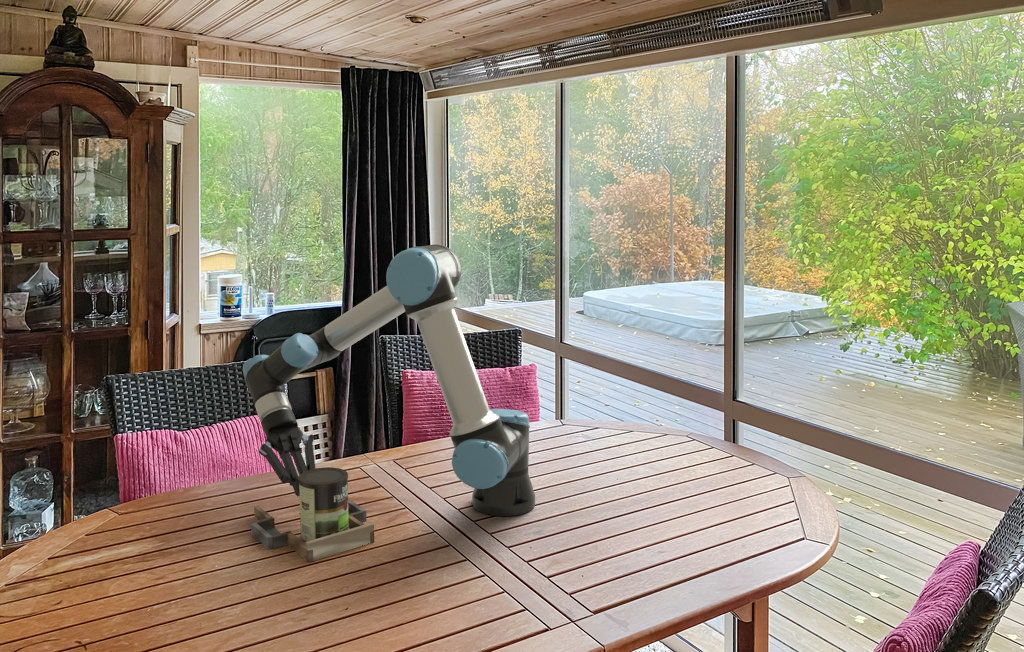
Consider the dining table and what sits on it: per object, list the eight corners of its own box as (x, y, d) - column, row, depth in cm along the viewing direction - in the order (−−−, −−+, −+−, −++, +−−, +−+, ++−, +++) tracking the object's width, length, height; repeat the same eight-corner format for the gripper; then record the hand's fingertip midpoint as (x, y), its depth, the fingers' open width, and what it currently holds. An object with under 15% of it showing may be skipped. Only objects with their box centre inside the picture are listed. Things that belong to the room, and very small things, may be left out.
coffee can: (357, 530, 171) (355, 469, 169) (337, 550, 161) (335, 486, 159) (313, 525, 174) (312, 464, 171) (291, 545, 164) (289, 481, 161)
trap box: (237, 521, 175) (236, 504, 174) (330, 497, 189) (330, 481, 189) (289, 568, 154) (289, 549, 153) (390, 536, 168) (390, 519, 168)
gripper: (298, 419, 187) (332, 507, 178) (245, 429, 179) (277, 521, 169) (307, 403, 183) (342, 492, 173) (253, 412, 174) (286, 506, 165)
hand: (310, 506), depth 171 cm, fingers closed
